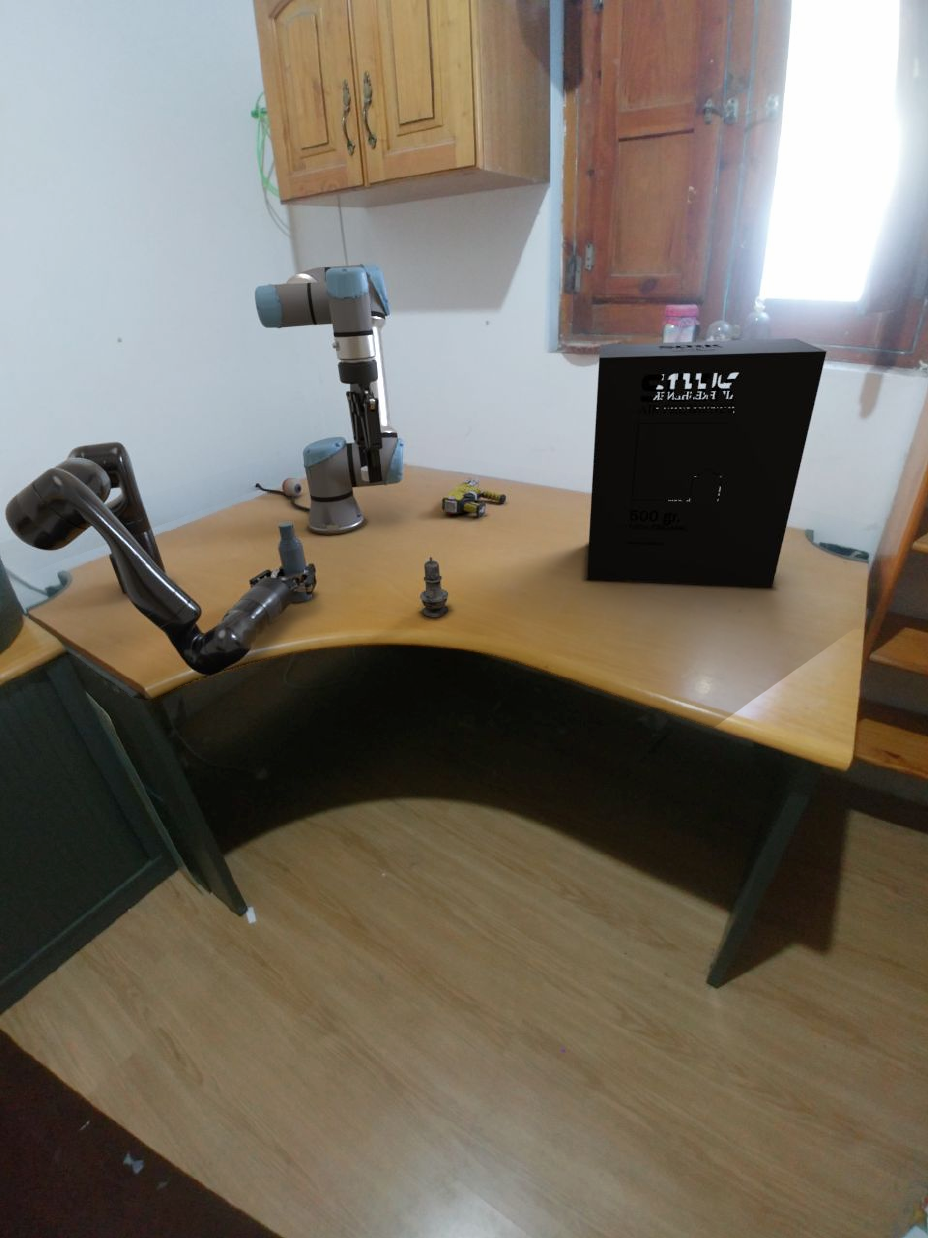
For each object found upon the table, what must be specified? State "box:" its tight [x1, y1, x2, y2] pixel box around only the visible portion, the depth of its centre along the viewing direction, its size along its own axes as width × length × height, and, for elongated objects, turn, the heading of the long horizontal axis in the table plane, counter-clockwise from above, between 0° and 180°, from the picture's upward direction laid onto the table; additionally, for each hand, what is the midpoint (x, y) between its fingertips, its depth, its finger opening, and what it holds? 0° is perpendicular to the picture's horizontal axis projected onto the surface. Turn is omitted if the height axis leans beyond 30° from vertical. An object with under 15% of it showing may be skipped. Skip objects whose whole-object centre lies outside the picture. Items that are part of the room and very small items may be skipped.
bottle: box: [277, 521, 313, 603], centre depth 128 cm, size 5×5×17 cm
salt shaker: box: [419, 556, 450, 618], centre depth 120 cm, size 6×6×12 cm
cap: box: [361, 466, 382, 481], centre depth 127 cm, size 4×4×2 cm
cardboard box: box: [586, 338, 828, 589], centre depth 126 cm, size 38×20×45 cm, turn 78°
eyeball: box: [281, 477, 303, 498], centre depth 192 cm, size 6×6×6 cm
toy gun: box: [441, 477, 507, 518], centre depth 177 cm, size 5×24×15 cm
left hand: (300, 566), depth 131 cm, fingers closed on bottle, 5 cm apart
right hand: (372, 478), depth 128 cm, fingers closed on cap, 4 cm apart
